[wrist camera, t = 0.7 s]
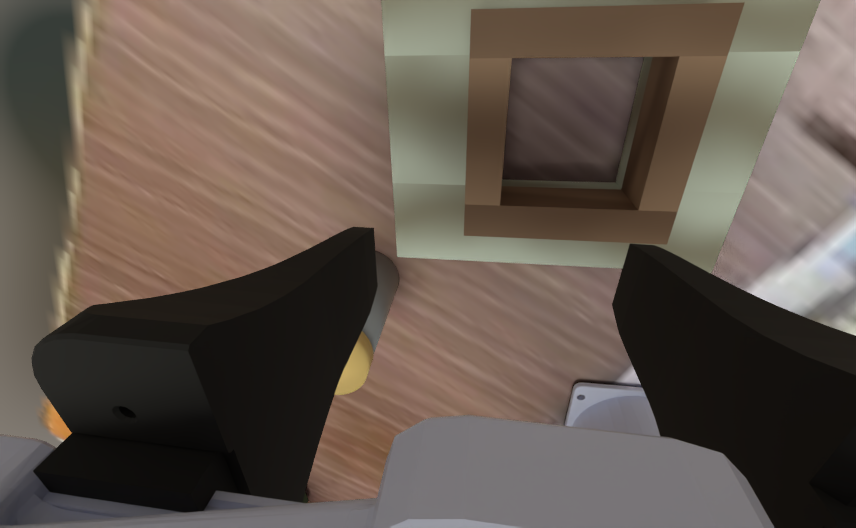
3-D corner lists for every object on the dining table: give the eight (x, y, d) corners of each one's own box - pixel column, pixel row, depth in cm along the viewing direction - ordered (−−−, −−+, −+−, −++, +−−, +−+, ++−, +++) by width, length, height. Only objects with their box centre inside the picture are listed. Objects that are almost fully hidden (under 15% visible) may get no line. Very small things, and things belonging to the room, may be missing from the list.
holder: (702, 263, 21) (737, 302, 18) (400, 248, 23) (387, 281, 20) (835, -88, 14) (931, -121, 11) (382, -66, 16) (357, -89, 13)
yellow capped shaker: (401, 303, 25) (370, 398, 18) (343, 299, 25) (294, 391, 19) (398, 250, 23) (362, 336, 16) (336, 247, 23) (278, 329, 17)
